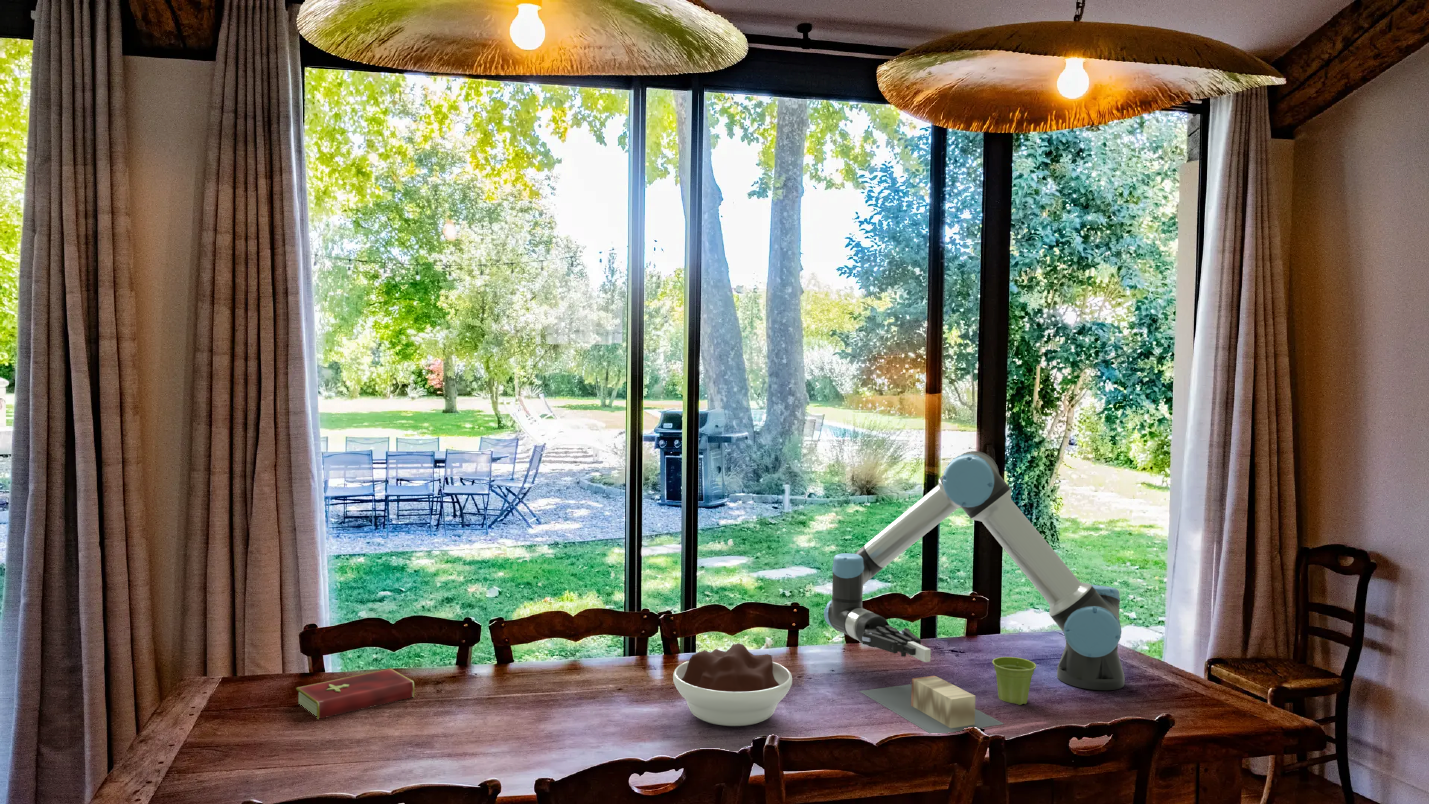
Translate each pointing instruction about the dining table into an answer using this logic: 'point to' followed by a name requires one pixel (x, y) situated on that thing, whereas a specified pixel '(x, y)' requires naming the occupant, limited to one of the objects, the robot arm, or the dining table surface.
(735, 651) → the chocolate pudding bowl
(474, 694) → the dining table surface
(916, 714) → the rubber mat
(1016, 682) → the plant pot
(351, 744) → the dining table surface
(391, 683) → the hardcover book
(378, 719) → the dining table surface
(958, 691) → the birch block
